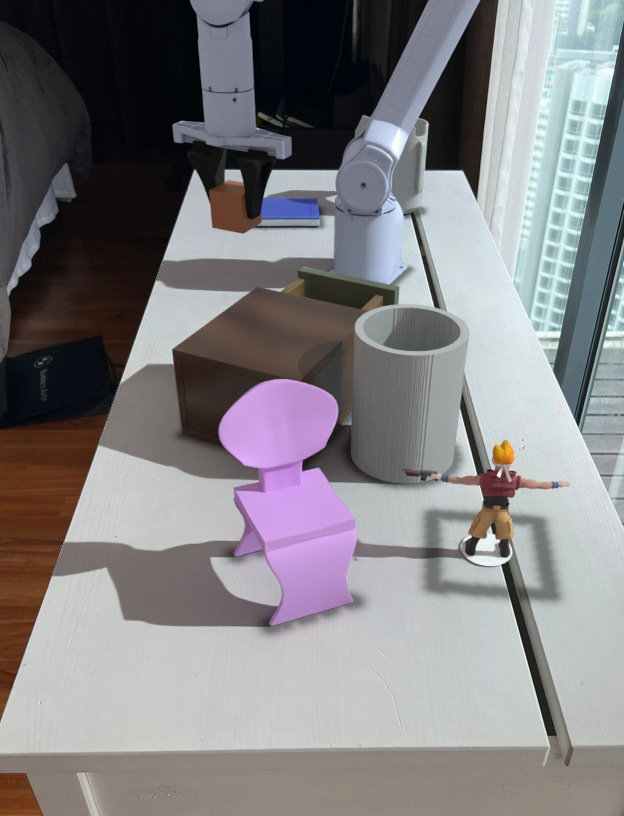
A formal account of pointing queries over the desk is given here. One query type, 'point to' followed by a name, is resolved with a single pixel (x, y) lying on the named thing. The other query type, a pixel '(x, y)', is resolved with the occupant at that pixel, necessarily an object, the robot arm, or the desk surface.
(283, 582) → the toy chair
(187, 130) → the robot arm
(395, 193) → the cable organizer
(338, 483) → the desk surface
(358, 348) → the cup
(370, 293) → the drawer
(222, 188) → the block
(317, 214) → the blue book
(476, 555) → the action figure
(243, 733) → the desk surface
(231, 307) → the cabinet
